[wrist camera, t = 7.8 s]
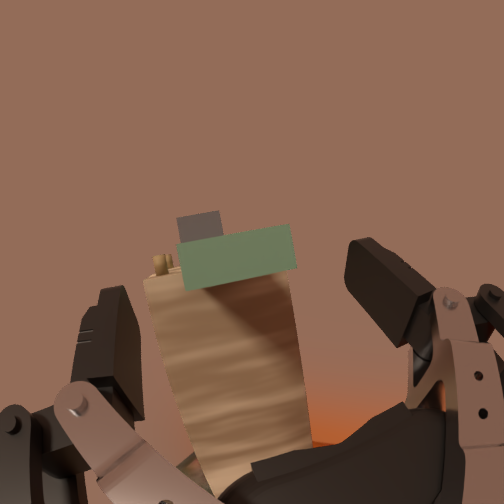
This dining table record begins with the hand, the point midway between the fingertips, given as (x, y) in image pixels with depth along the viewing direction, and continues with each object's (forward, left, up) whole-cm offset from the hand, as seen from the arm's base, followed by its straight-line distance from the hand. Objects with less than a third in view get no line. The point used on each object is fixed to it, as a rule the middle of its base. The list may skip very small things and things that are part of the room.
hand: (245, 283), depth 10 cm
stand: (-3, +17, -32) cm, 36 cm away
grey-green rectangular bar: (-2, +11, 0) cm, 11 cm away
